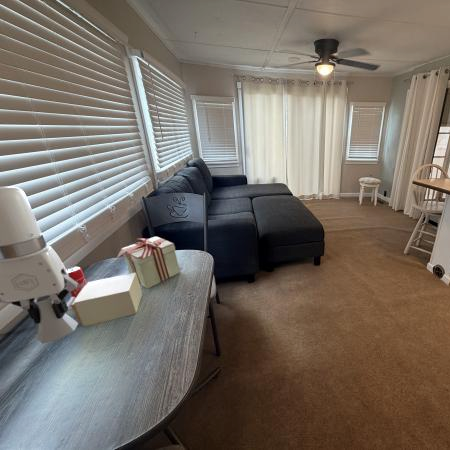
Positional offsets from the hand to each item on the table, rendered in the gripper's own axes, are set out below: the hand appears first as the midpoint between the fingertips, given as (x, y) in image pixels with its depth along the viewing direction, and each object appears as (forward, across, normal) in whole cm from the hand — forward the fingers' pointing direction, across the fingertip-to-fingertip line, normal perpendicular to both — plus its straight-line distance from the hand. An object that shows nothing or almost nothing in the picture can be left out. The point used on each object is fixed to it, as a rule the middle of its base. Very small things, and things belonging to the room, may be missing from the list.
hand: (51, 316), depth 56 cm
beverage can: (+19, -12, +40) cm, 46 cm away
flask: (+5, 0, 0) cm, 5 cm away
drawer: (+18, -1, +26) cm, 31 cm away
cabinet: (+19, +3, +26) cm, 32 cm away
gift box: (+19, +12, +43) cm, 48 cm away
